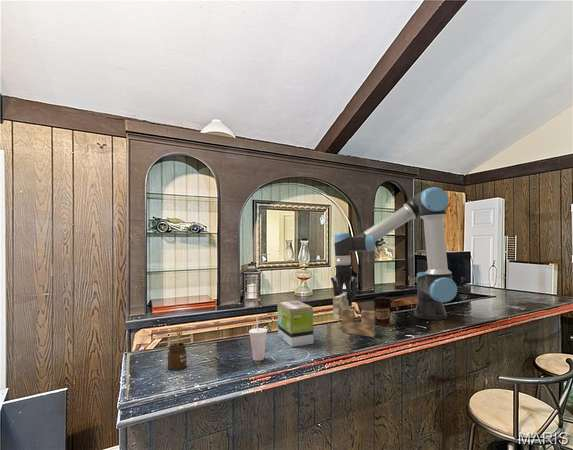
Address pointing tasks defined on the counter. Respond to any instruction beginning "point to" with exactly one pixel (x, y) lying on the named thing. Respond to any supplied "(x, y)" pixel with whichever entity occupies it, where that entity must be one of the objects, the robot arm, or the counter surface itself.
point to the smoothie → (258, 342)
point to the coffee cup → (382, 310)
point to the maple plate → (339, 305)
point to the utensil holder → (177, 354)
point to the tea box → (295, 323)
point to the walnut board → (359, 328)
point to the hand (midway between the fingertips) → (345, 312)
